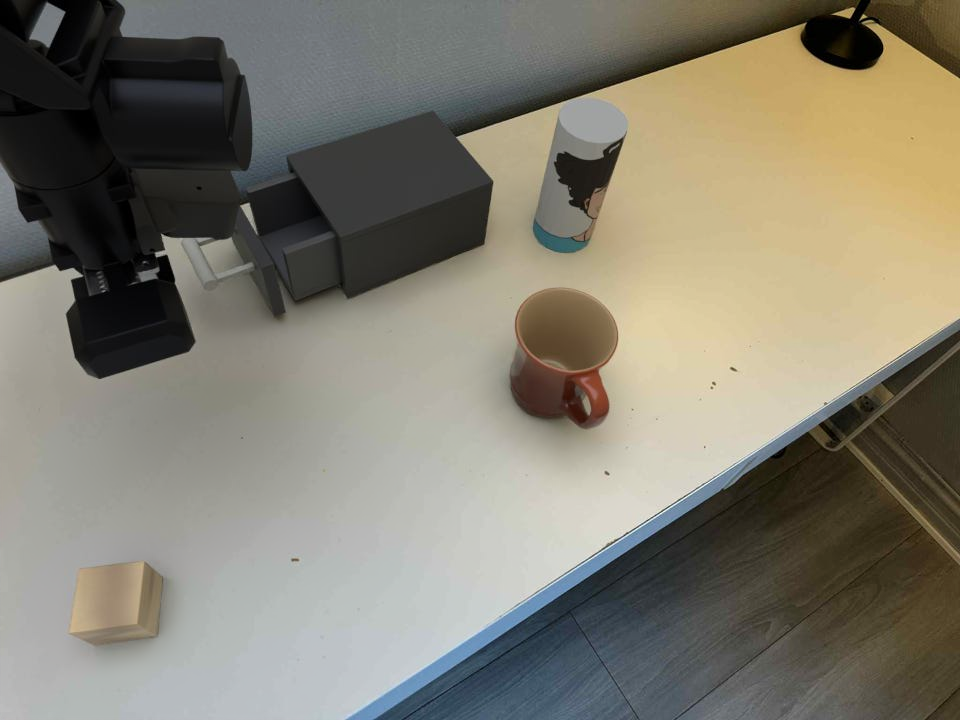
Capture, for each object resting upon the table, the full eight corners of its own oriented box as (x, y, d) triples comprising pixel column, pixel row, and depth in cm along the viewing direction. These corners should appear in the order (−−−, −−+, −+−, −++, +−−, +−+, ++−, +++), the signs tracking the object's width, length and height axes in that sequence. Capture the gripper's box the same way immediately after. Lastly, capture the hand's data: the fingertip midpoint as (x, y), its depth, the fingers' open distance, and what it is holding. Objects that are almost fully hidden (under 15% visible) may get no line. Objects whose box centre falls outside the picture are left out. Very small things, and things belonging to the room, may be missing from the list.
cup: (584, 259, 73) (621, 150, 61) (526, 242, 74) (551, 131, 61) (596, 218, 77) (633, 108, 64) (540, 203, 78) (566, 90, 65)
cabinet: (347, 299, 67) (340, 237, 60) (298, 221, 72) (285, 155, 65) (484, 244, 73) (494, 181, 66) (430, 175, 78) (433, 110, 71)
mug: (486, 365, 65) (498, 300, 56) (566, 342, 67) (589, 277, 58) (536, 473, 59) (559, 420, 50) (621, 444, 61) (656, 388, 53)
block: (93, 645, 48) (67, 633, 45) (102, 584, 51) (78, 568, 47) (157, 636, 49) (137, 624, 45) (163, 576, 51) (144, 560, 48)
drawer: (225, 337, 62) (205, 288, 56) (185, 258, 67) (163, 206, 61) (415, 261, 70) (416, 211, 64) (367, 195, 74) (364, 142, 68)
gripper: (254, 232, 35) (294, 383, 48) (174, 35, 43) (227, 209, 56) (20, 293, 31) (132, 438, 45) (-18, 66, 40) (86, 244, 53)
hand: (151, 320), depth 50 cm, fingers closed
